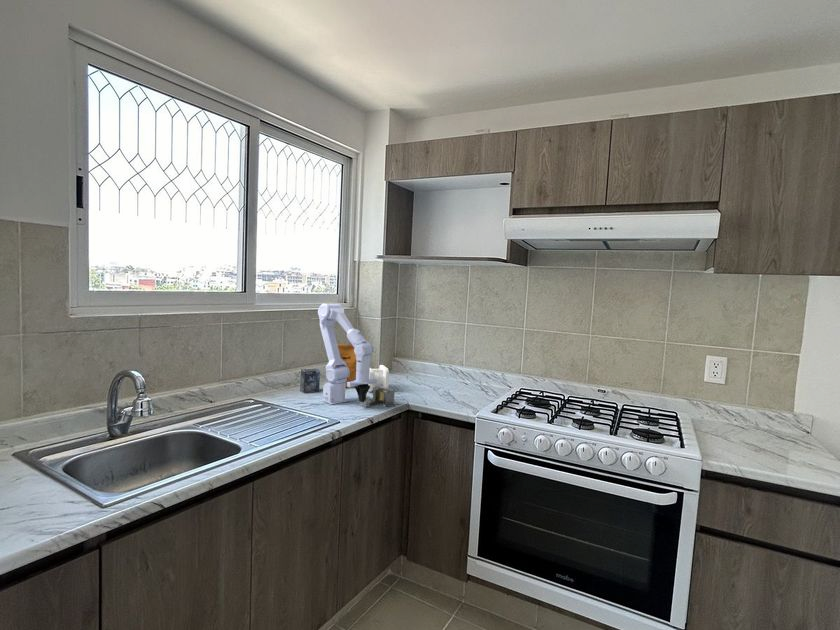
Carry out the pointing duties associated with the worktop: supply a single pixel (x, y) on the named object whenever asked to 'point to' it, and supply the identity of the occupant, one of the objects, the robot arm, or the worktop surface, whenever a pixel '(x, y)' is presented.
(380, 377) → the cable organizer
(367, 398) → the plug
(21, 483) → the worktop surface
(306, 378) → the box
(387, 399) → the housing
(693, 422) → the worktop surface
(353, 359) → the coffee package
